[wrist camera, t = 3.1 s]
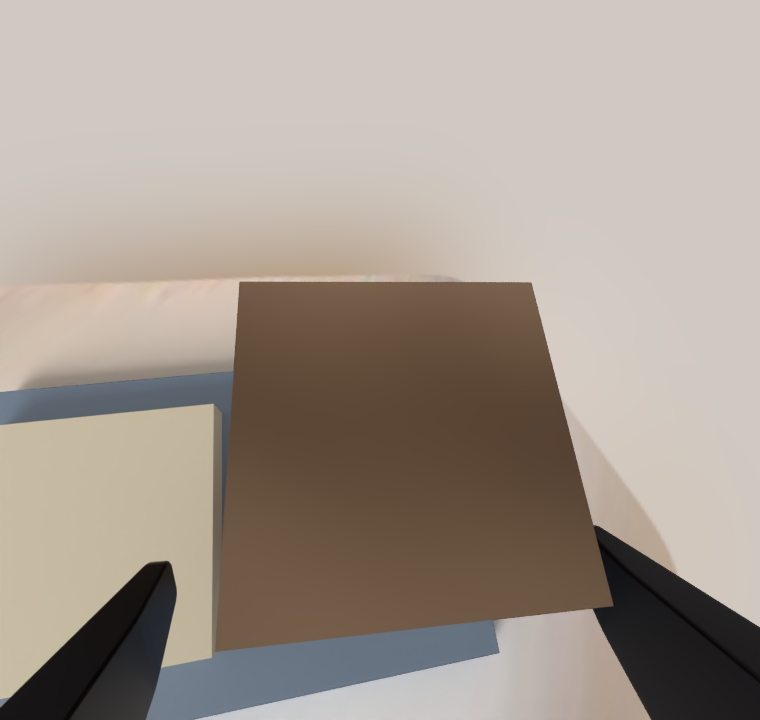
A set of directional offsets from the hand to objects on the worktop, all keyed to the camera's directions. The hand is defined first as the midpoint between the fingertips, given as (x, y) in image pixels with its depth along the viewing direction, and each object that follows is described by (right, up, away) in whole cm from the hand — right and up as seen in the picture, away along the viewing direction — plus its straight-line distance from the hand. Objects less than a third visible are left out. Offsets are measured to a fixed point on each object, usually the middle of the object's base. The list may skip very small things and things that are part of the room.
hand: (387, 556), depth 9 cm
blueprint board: (-6, -3, +9) cm, 11 cm away
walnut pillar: (-1, -2, +9) cm, 9 cm away
